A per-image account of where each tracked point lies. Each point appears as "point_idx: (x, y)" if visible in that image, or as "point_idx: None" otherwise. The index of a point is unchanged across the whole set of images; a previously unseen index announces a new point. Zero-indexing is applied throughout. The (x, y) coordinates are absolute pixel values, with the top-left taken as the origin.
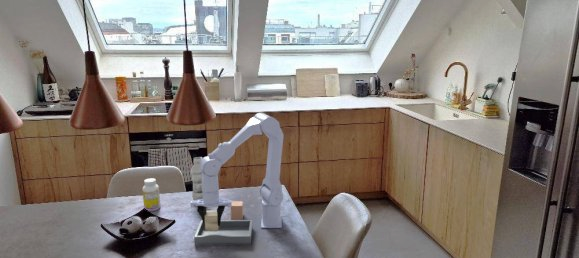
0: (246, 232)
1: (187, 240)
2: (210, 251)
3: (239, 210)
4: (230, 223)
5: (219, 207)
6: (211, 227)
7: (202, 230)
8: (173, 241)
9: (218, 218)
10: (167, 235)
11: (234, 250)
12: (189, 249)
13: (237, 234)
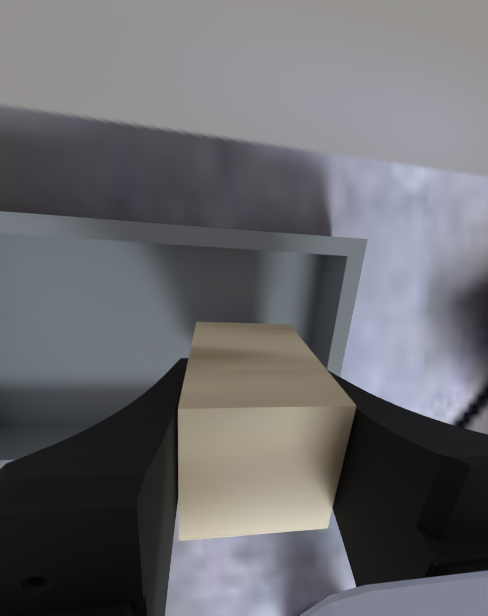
0: (10, 357)
1: (371, 303)
2: (232, 153)
3: None
4: None
5: (91, 613)
6: (246, 334)
7: None
8: (440, 297)
9: (170, 391)
10: (462, 357)
11: (61, 145)
12: (361, 197)
13: (70, 334)
